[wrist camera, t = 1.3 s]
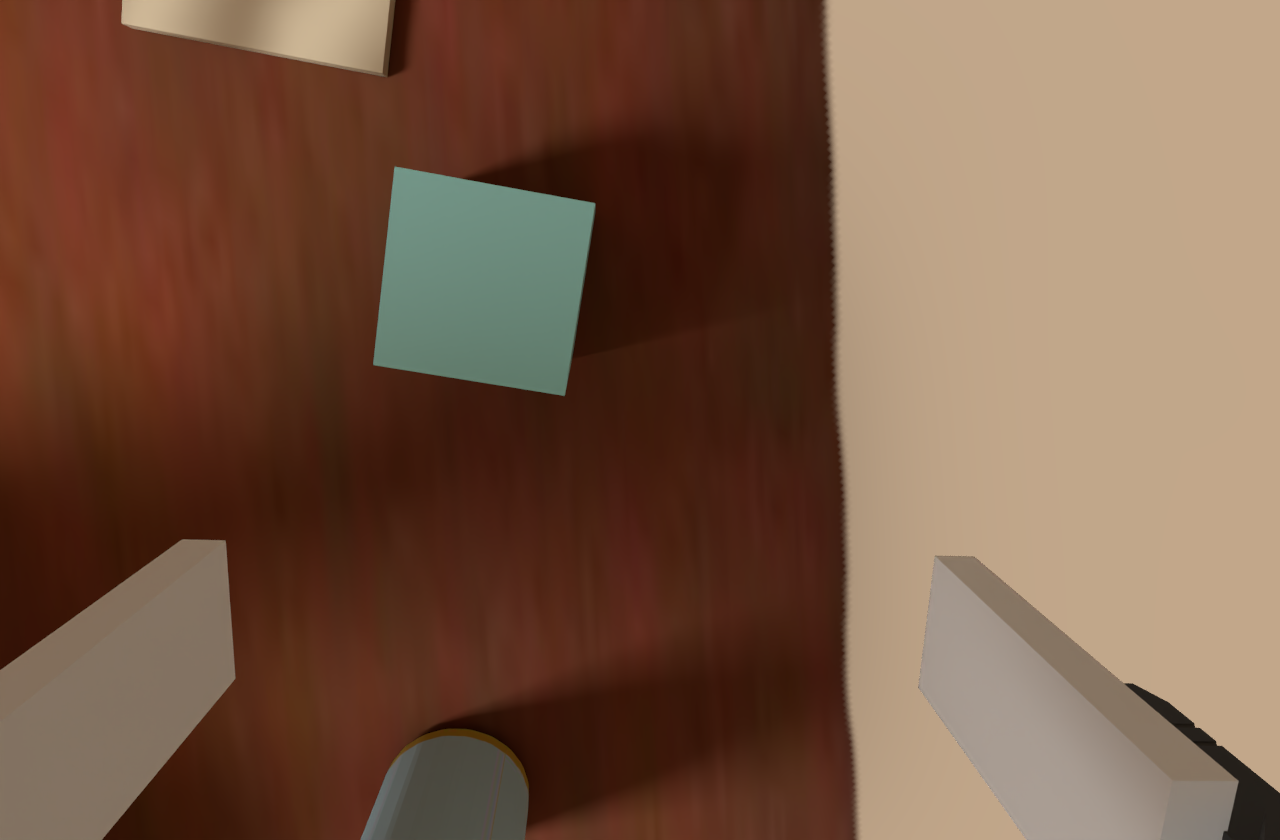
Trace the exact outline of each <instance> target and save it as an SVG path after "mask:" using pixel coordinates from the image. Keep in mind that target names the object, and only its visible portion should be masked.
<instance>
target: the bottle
mask: <svg viewBox="0 0 1280 840" xmlns="http://www.w3.org/2000/svg"><path fill="white" fill-rule="evenodd" d="M528 801H529V783H528V779H527V776H526V773H525V770H524V768H523V766H522V764H521V762H520V761H519V759H518V758H517V757H516V756H515V754H514V753H513V752H512V751H511V750H510V749H509V748H508V747H507V746H506V745H504V744H503V743H501V742H500V741H498V740H497V739H495V738H494V737H492V736H490V735H487V734H484V733H481V732H477V731H474V730H470V729H443V730H439V731H435V732H432V733H428V734H425V735H423V736H421V737H419V738H418V739H416V740H414V741H413V742H411V743H410V744H408V745H407V746H406V747H404V748H403V749H402V751H401V752H400V753H399V754H398V755H397V757H396V758H395V759H394V760H393V762H392V764H391V765H390V768H389V770H388V772H387V774H386V776H385V779H384V781H383V784H382V786H381V789H380V792H379V794H378V797H377V799H376V802H375V804H374V807H373V809H372V812H371V814H370V817H369V820H368V822H367V825H366V827H365V830H364V832H363V835H362V837H361V840H525V832H526V824H527V815H528Z"/></svg>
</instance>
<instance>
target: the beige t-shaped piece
mask: <svg viewBox="0 0 1280 840" xmlns="http://www.w3.org/2000/svg"><path fill="white" fill-rule="evenodd" d="M394 9H395V0H122V22H121V23H122V24H124V25H126V26H128V27H131V28H133V29H138V30H143V31H149V32H154V33H159V34H164V35H169V36H175V37H180V38H185V39H190V40H195V41H201V42H206V43H211V44H216V45H222V46H227V47H232V48H237V49H242V50H248V51H253V52H258V53H263V54H268V55H274V56H279V57H284V58H289V59H295V60H300V61H305V62H310V63H315V64H321V65H326V66H331V67H336V68H341V69H347V70H352V71H357V72H362V73H368V74H373V75H378V76H383V77H387V76H388V66H389V57H390V47H391V38H392V28H393V19H394Z"/></svg>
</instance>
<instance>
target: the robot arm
mask: <svg viewBox="0 0 1280 840" xmlns="http://www.w3.org/2000/svg"><path fill="white" fill-rule="evenodd" d="M234 680H235V666H234V652H233V637H232V623H231V608H230V594H229V580H228V565H227V551H226V540H189V539H182V540H181V541H179V542H178V543H176V544H175V545H174V546H172V547H171V548H170V549H168V550H167V551H165V552H164V553H163V554H161V555H160V556H158V557H157V558H156V559H154V560H153V561H151V562H150V563H149V564H147V565H146V566H144V567H143V568H142V569H140V570H139V571H138V572H136V573H135V574H133V575H132V576H131V577H129V578H128V579H126V580H125V581H124V582H122V583H121V584H119V585H118V586H117V587H115V588H114V589H112V590H111V591H110V592H108V593H107V594H106V595H104V596H103V597H101V598H100V599H99V600H97V601H96V602H94V603H93V604H92V605H90V606H89V607H87V608H86V609H85V610H83V611H82V612H80V613H79V614H78V615H76V616H75V617H74V618H72V619H71V620H69V621H68V622H67V623H65V624H64V625H62V626H61V627H60V628H58V629H57V630H55V631H54V632H53V633H51V634H50V635H48V636H47V637H46V638H44V639H43V640H42V641H40V642H39V643H37V644H36V645H35V646H33V647H32V648H30V649H29V650H28V651H26V652H25V653H23V654H22V655H21V656H19V657H18V658H16V659H15V660H14V661H12V662H11V663H10V664H8V665H7V666H5V667H4V668H3V669H1V670H0V840H102V839H103V838H104V837H105V835H106V834H107V833H108V832H109V831H110V829H111V828H112V827H113V826H114V825H115V823H116V822H117V821H118V820H119V819H120V817H121V816H122V815H123V814H124V812H125V811H126V810H127V809H128V808H129V806H130V805H131V804H132V803H133V802H134V800H135V799H136V798H137V797H138V796H139V794H140V793H141V792H142V791H143V790H144V788H145V787H146V786H147V785H148V784H149V782H150V781H151V780H152V779H153V778H154V776H155V775H156V774H157V773H158V771H159V770H160V769H161V768H162V767H163V765H164V764H165V763H166V762H167V761H168V759H169V758H170V757H171V756H172V755H173V753H174V752H175V751H176V750H177V749H178V747H179V746H180V745H181V744H182V743H183V741H184V740H185V739H186V738H187V737H188V735H189V734H190V733H191V732H192V730H193V729H194V728H195V727H196V726H197V724H198V723H199V722H200V721H201V720H202V718H203V717H204V716H205V715H206V714H207V712H208V711H209V710H210V709H211V708H212V706H213V705H214V704H215V703H216V702H217V700H218V699H219V698H220V697H221V695H222V694H223V693H224V692H225V691H226V689H227V688H228V687H229V686H230V685H231V683H232V682H233V681H234ZM918 688H919V689H920V690H921V692H922V693H923V695H924V696H925V697H926V699H927V700H928V702H929V703H930V704H931V706H932V707H933V709H934V710H935V712H936V713H937V714H938V716H939V717H940V719H941V720H942V721H943V723H944V724H945V726H946V727H947V729H948V730H949V731H950V733H951V734H952V735H953V737H954V738H955V739H956V741H957V743H958V744H959V745H960V747H961V748H962V749H963V751H964V753H966V755H967V757H968V758H969V760H970V761H971V762H972V764H973V765H974V767H975V768H976V769H977V771H978V772H979V774H980V775H981V776H982V778H983V779H984V781H985V782H986V783H987V785H988V786H989V788H990V789H991V790H992V792H993V793H994V795H995V796H996V798H997V799H998V800H999V802H1000V803H1001V805H1002V806H1003V807H1004V809H1005V810H1006V812H1007V813H1008V814H1009V816H1010V817H1011V819H1012V820H1013V822H1014V823H1015V824H1016V826H1017V827H1018V828H1019V830H1020V831H1021V833H1022V834H1023V836H1024V837H1025V838H1026V840H1280V793H1279V792H1278V791H1276V790H1275V789H1274V788H1273V787H1272V786H1270V785H1269V784H1268V783H1267V782H1265V781H1264V780H1263V779H1262V778H1260V777H1259V776H1258V775H1257V774H1256V773H1254V772H1253V771H1252V770H1251V769H1249V768H1248V767H1247V766H1246V765H1244V764H1243V763H1242V762H1241V761H1240V760H1238V759H1237V758H1236V757H1235V756H1233V755H1232V754H1231V753H1230V752H1229V751H1227V750H1226V749H1225V748H1224V747H1222V746H1217V744H1216V741H1215V740H1214V739H1213V738H1211V737H1210V736H1209V735H1208V734H1206V733H1205V732H1204V731H1203V730H1202V729H1200V728H1195V726H1194V723H1193V722H1192V721H1191V720H1189V719H1188V718H1187V717H1186V716H1184V715H1183V714H1182V713H1181V712H1179V711H1178V710H1177V709H1176V708H1175V707H1173V706H1172V705H1171V704H1170V703H1168V702H1167V701H1165V700H1163V699H1160V698H1159V697H1157V696H1155V695H1153V694H1151V693H1149V692H1148V691H1146V690H1144V689H1142V688H1140V687H1138V686H1136V685H1134V684H1129V683H1128V684H1124V683H1122V682H1121V681H1120V680H1119V679H1118V678H1117V677H1115V676H1114V675H1113V674H1112V673H1111V672H1110V671H1108V670H1107V669H1106V668H1105V667H1104V666H1102V665H1101V664H1100V663H1099V662H1098V661H1096V660H1095V659H1094V658H1093V657H1092V656H1091V655H1089V654H1088V653H1087V652H1086V651H1085V650H1084V649H1082V648H1081V647H1080V646H1079V645H1078V644H1077V643H1075V642H1074V641H1073V640H1072V639H1071V638H1069V637H1068V636H1067V635H1066V634H1065V633H1063V632H1062V631H1061V630H1060V629H1059V628H1057V627H1056V626H1055V625H1054V624H1053V623H1052V622H1051V621H1049V620H1048V619H1047V618H1046V617H1045V616H1044V615H1042V614H1041V613H1040V612H1039V611H1037V610H1036V609H1035V608H1034V607H1033V606H1032V605H1031V604H1029V603H1028V602H1027V601H1026V600H1025V599H1023V598H1022V597H1021V596H1020V595H1018V593H1016V592H1015V591H1014V590H1013V589H1012V588H1010V587H1009V586H1008V585H1007V584H1006V583H1004V582H1003V581H1002V580H1001V579H1000V578H999V577H998V576H996V575H995V574H994V573H993V572H992V571H990V570H989V569H988V568H987V567H986V566H985V565H983V564H982V563H981V562H980V561H979V560H978V559H976V558H975V557H964V556H963V557H961V556H935V559H934V567H933V575H932V583H931V592H930V600H929V607H928V615H927V623H926V631H925V639H924V647H923V654H922V663H921V671H920V678H919V687H918Z"/></svg>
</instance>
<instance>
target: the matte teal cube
mask: <svg viewBox="0 0 1280 840" xmlns="http://www.w3.org/2000/svg"><path fill="white" fill-rule="evenodd" d="M594 218H595V203H591V202H586V201H580V200H575V199H569V198H564V197H558V196H553V195H547V194H542V193H536V192H531V191H525V190H520V189H514V188H509V187H503V186H498V185H492V184H487V183H482V182H476V181H471V180H465V179H460V178H454V177H449V176H443V175H438V174H432V173H427V172H421V171H416V170H410V169H405V168H399V167H395V169H394V178H393V187H392V197H391V206H390V215H389V224H388V233H387V242H386V251H385V261H384V270H383V279H382V288H381V297H380V306H379V316H378V325H377V334H376V343H375V352H374V361H373V365H376V366H382V367H389V368H395V369H401V370H407V371H413V372H420V373H426V374H432V375H438V376H444V377H451V378H457V379H463V380H469V381H475V382H482V383H488V384H494V385H500V386H506V387H513V388H519V389H525V390H531V391H537V392H544V393H550V394H556V395H562V396H565V392H566V387H567V382H568V377H569V372H570V367H571V362H572V356H573V350H574V344H575V338H576V331H577V325H578V319H579V312H580V306H581V300H582V293H583V287H584V281H585V275H586V268H587V262H588V256H589V249H590V243H591V237H592V230H593V224H594Z"/></svg>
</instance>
